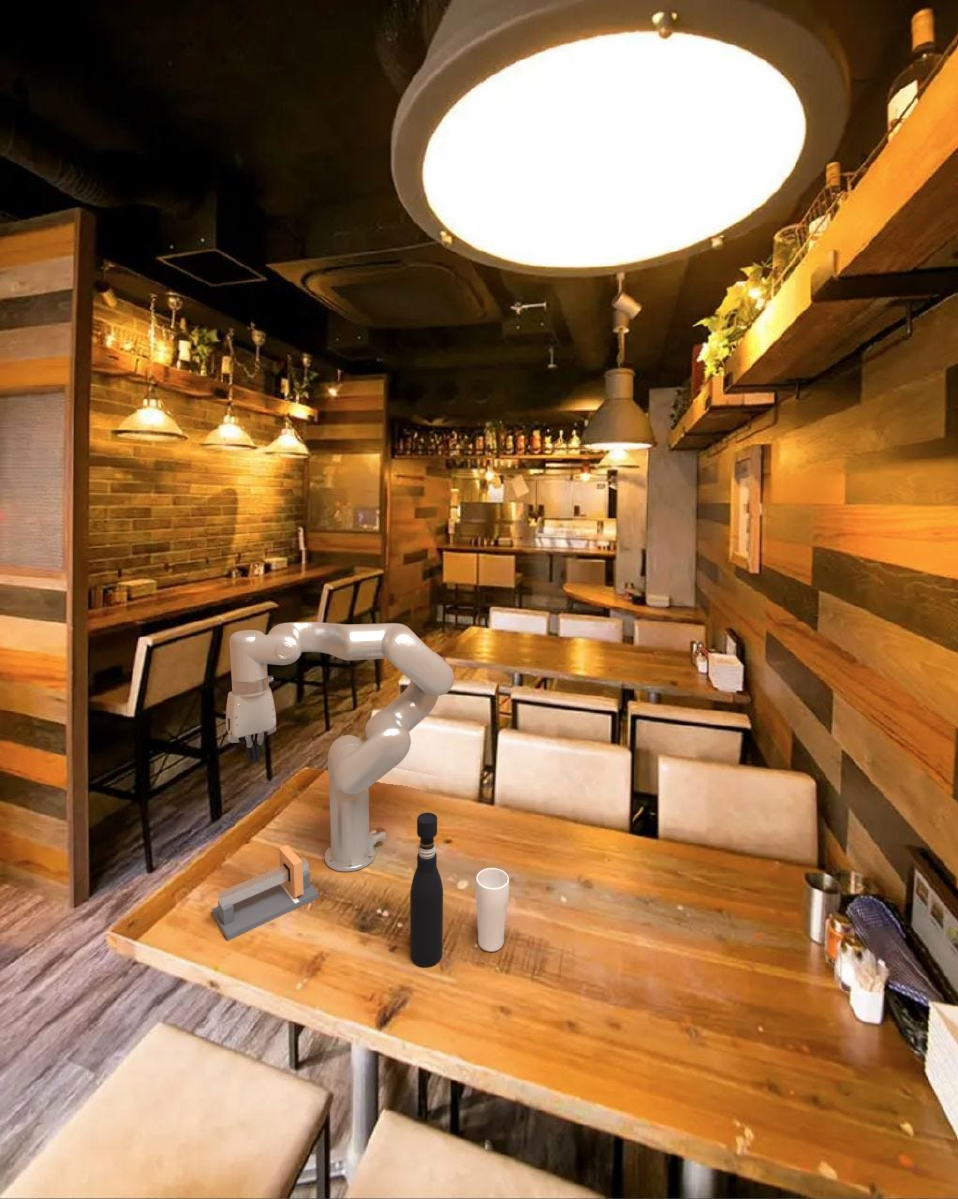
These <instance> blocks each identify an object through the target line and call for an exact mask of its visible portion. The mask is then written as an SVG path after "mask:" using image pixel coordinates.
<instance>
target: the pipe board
mask: <svg viewBox="0 0 958 1199" xmlns="http://www.w3.org/2000/svg"><path fill="white" fill-rule="evenodd" d="M303 891H304V894H302V895H300V896H297V897H294V896H293V894H292V893H291V892H290V891H289V889H288V888H287V887H286V886H285V884H284V883H281V884H279V885H276V886H274V887H272V888H269V889H267V890H265V891H263V892H260V893H258V894H256V895H253V896H251V897H249V898H246V899H244V900H242V901H239V902H237V903H235V904H233V905H230V906H228V907H226V908H223V909H222V907H221V905H220V904H219V900H218V901H217V906H215V907H213V908H211V914H212V917H213V918H214V920H215V922H216V923H217V926H219V929H220V931H221V933H222V934H223V936H224V937H225V939H226V940H227V941H230V940H233V939H234V938H235V939H236V938H237V937H239V936H240V935H243V934H245V933H247V932H250V931H251V930H254V929H256V928H258V927H260V926H263V925H264V924H266V923H268V922H270V921H273V920H275V919H277V918H279V917H281V916H283V915H285V914H288V913H290V912H292V911H295V910H296V909H298V908H300V907H302V906H305V905H306V904H309V903H311V902H313V901H316V900H317V899H319V896H320V894H319V893H320V892H319V891H317V889H315V887H314V886H313V885H312V884H311V873H310V871H309V872H306V873H304V874H303Z"/></svg>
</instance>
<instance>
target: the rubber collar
mask: <svg viewBox="0 0 958 1199" xmlns="http://www.w3.org/2000/svg"><path fill="white" fill-rule="evenodd" d="M278 853H279V854H278V855H279V867H281V866H283V864H286V865H287V866H288V867H289V869H290V881H286V882H283V883H284V884H285V886H286V887H287V888H288V889H289V891H290V892H291V893H292V894H293V896H294V897H297V896H300V895H302V894H304V891H303V863H302V860H301V859H300V857H299V856H298V855H297V854H296V853H295V852H294V850H293V849H292V848H291V847H290V846H289V845H288V844H285V845H284V846H281V847H279V848H278Z"/></svg>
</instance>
